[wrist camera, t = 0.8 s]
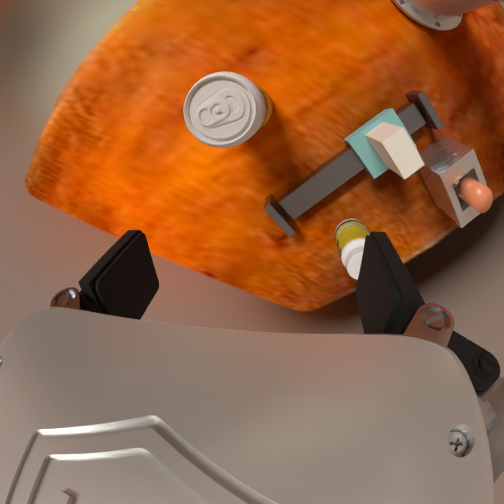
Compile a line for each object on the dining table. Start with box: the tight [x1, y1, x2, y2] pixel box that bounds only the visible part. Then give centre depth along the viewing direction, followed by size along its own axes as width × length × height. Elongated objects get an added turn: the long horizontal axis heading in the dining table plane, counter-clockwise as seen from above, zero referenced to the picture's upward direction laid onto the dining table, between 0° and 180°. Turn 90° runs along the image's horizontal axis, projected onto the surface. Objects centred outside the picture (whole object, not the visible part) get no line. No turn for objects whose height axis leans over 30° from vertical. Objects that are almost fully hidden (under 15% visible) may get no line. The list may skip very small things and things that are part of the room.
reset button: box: [457, 176, 493, 213], centre depth 22 cm, size 3×3×4 cm
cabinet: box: [418, 137, 487, 228], centre depth 26 cm, size 6×8×8 cm
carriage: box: [344, 108, 425, 179], centre depth 25 cm, size 7×6×9 cm
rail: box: [264, 91, 443, 237], centre depth 30 cm, size 25×5×4 cm, turn 133°
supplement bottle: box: [335, 219, 369, 280], centre depth 33 cm, size 5×5×8 cm
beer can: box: [184, 72, 273, 148], centre depth 23 cm, size 6×6×15 cm
